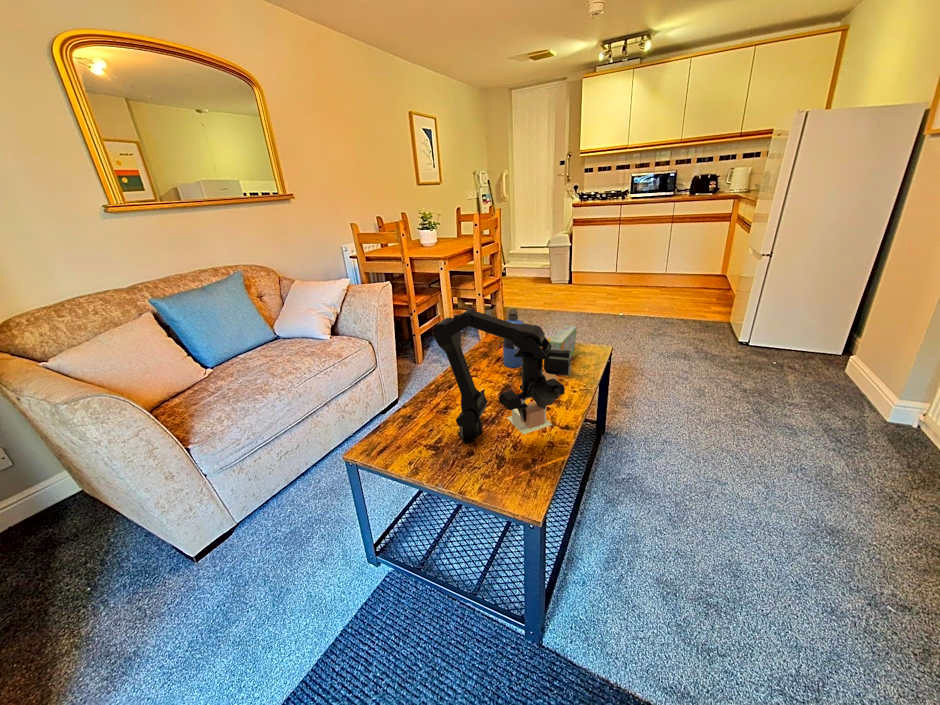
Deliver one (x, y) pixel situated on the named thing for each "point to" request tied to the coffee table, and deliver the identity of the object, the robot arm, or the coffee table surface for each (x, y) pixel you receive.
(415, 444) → the coffee table surface
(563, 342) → the snack box
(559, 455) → the coffee table surface
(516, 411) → the bottom brick
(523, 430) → the baseplate
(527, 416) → the top brick
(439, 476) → the coffee table surface
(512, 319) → the water bottle
